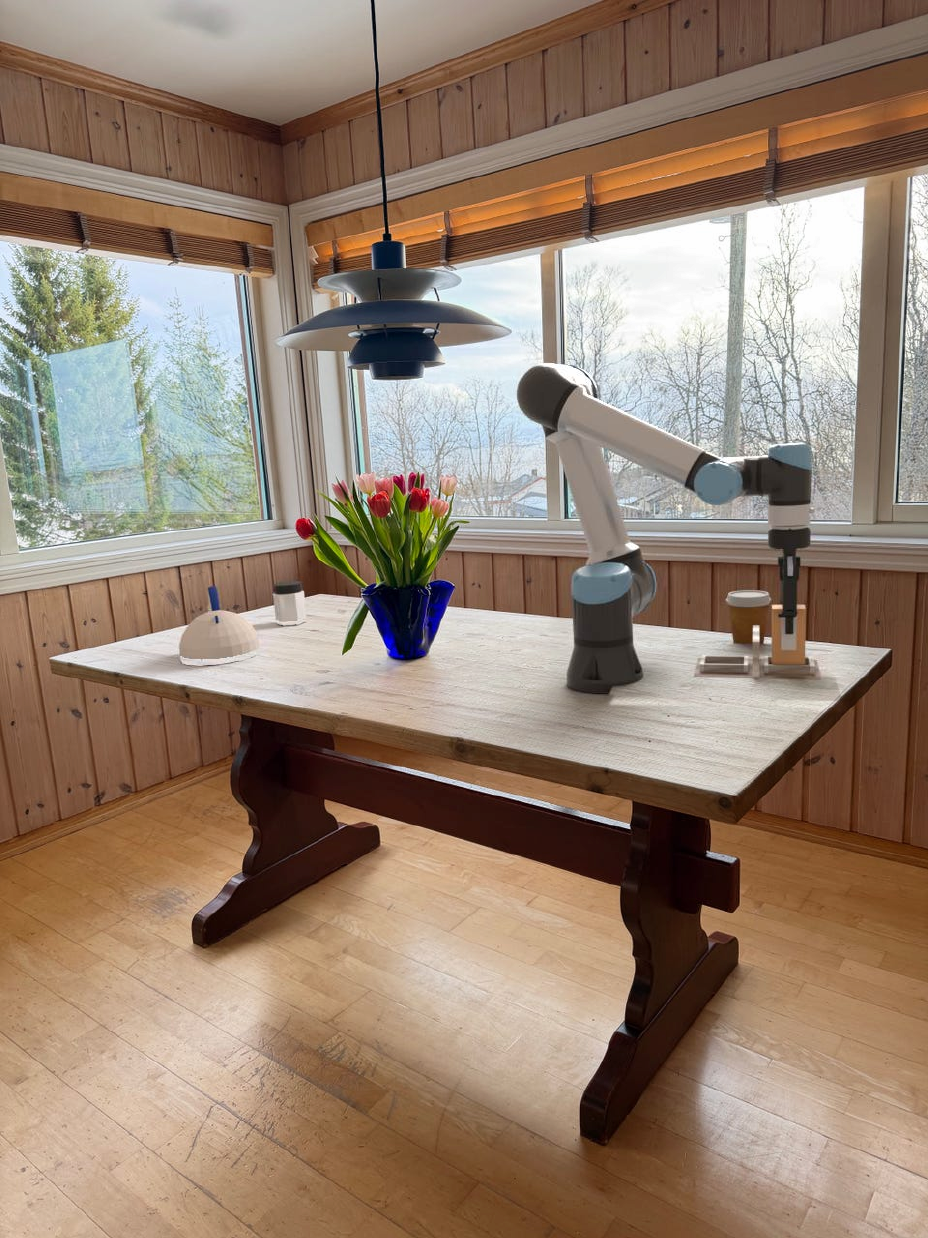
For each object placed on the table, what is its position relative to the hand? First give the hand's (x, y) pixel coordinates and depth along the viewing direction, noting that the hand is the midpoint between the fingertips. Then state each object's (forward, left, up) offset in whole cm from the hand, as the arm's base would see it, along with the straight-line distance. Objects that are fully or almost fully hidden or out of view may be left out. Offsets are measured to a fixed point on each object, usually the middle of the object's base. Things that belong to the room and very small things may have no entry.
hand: (788, 646), depth 169 cm
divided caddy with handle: (-5, +3, -6) cm, 8 cm away
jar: (-85, +115, -6) cm, 143 cm away
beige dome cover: (-106, +84, -6) cm, 136 cm away
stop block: (0, 0, -3) cm, 3 cm away
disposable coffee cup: (+7, +23, -6) cm, 25 cm away
